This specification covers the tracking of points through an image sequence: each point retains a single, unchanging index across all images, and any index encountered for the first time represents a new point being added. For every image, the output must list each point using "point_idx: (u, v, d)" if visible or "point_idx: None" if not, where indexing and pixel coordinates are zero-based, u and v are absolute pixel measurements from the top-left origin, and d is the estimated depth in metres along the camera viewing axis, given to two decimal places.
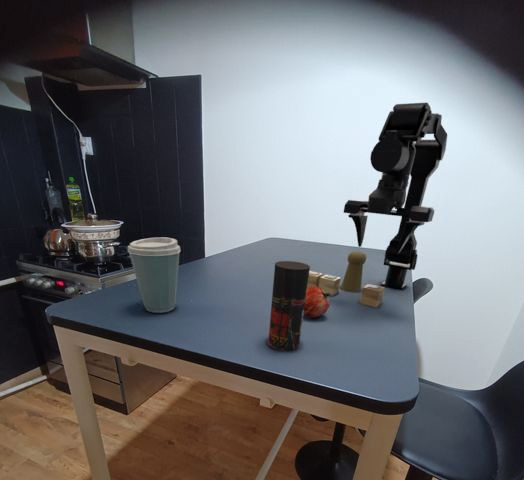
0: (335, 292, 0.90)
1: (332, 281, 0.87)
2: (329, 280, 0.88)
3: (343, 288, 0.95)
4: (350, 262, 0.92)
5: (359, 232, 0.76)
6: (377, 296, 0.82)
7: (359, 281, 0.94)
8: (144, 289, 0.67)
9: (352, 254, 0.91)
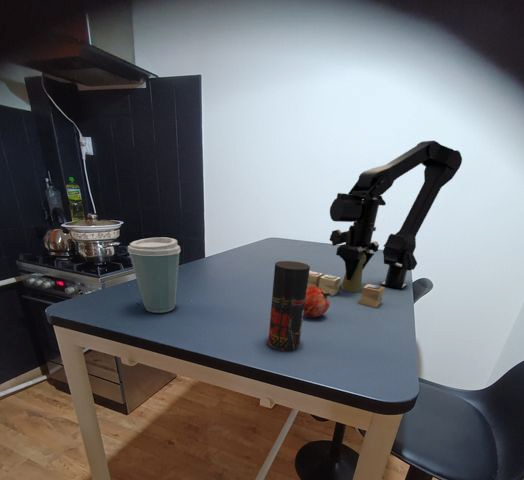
0: (335, 292, 0.90)
1: (332, 281, 0.87)
2: (329, 280, 0.88)
3: (343, 288, 0.95)
4: None
5: None
6: (377, 296, 0.82)
7: (359, 281, 0.94)
8: (144, 289, 0.67)
9: None
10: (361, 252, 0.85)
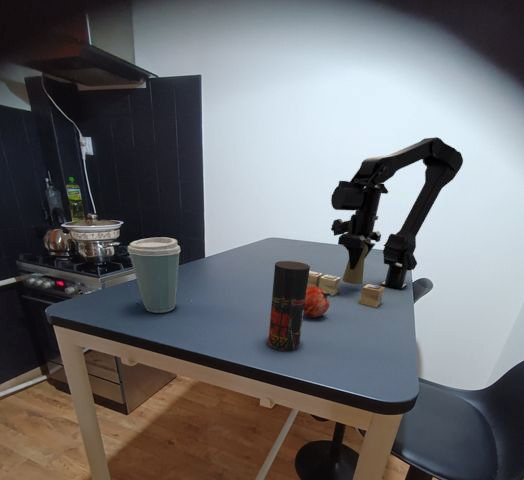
0: (335, 292, 0.90)
1: (332, 281, 0.87)
2: (329, 280, 0.88)
3: (345, 280, 0.94)
4: None
5: None
6: (377, 296, 0.82)
7: (361, 273, 0.92)
8: (144, 289, 0.67)
9: None
10: (363, 241, 0.83)
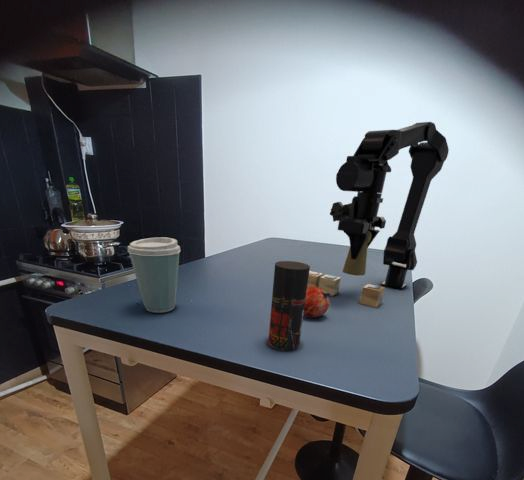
0: (335, 292, 0.90)
1: (332, 281, 0.87)
2: (329, 280, 0.88)
3: (345, 271, 0.84)
4: None
5: None
6: (377, 296, 0.82)
7: (363, 263, 0.83)
8: (144, 289, 0.67)
9: None
10: (366, 226, 0.73)
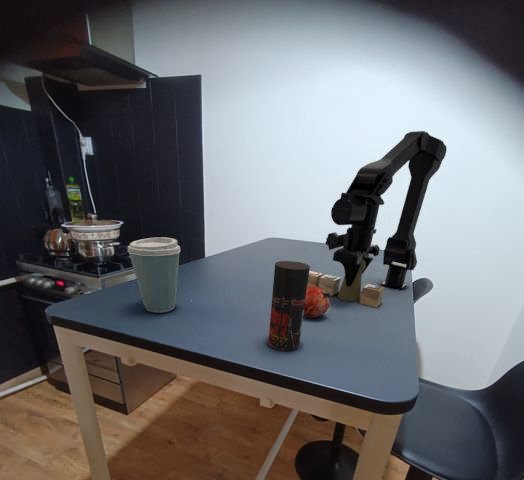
0: (335, 292, 0.90)
1: (332, 281, 0.87)
2: (329, 280, 0.88)
3: (340, 297, 0.87)
4: None
5: None
6: (377, 296, 0.82)
7: (358, 290, 0.86)
8: (144, 289, 0.67)
9: None
10: (360, 257, 0.76)
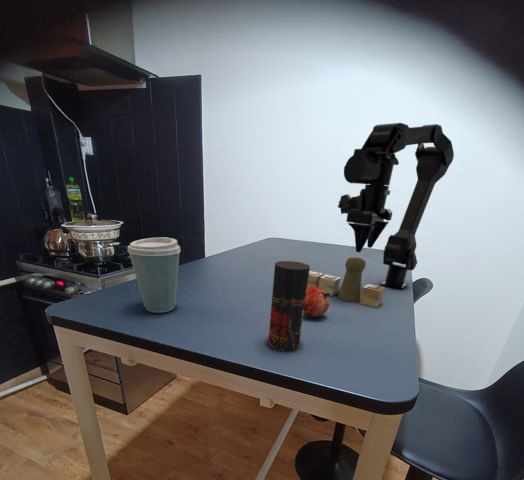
0: (335, 292, 0.90)
1: (332, 281, 0.87)
2: (329, 280, 0.88)
3: (340, 297, 0.87)
4: (348, 269, 0.84)
5: None
6: (377, 296, 0.82)
7: (358, 290, 0.86)
8: (144, 289, 0.67)
9: (350, 260, 0.83)
10: (374, 217, 0.75)
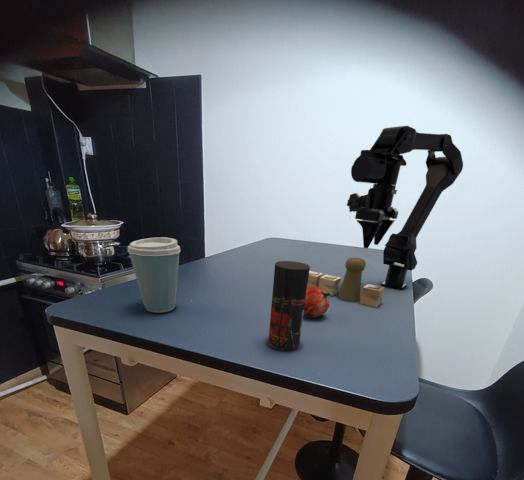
0: (335, 292, 0.90)
1: (332, 281, 0.87)
2: (329, 280, 0.88)
3: (340, 297, 0.87)
4: (348, 269, 0.84)
5: None
6: (377, 296, 0.82)
7: (358, 290, 0.86)
8: (144, 289, 0.67)
9: (350, 260, 0.83)
10: (382, 215, 0.79)
